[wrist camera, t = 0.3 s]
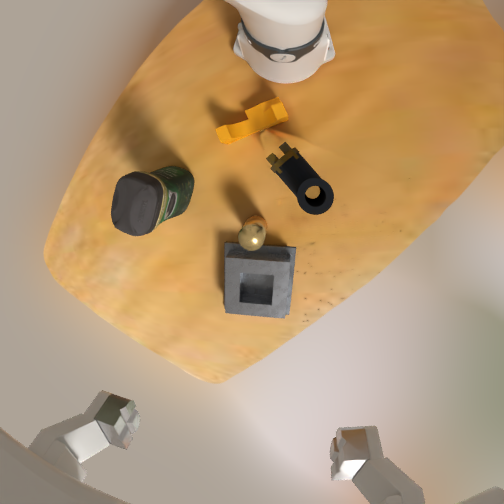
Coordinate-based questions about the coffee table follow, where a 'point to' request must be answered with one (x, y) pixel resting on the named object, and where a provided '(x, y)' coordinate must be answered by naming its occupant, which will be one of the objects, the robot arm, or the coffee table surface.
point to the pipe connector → (301, 180)
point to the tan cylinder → (253, 233)
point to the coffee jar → (150, 199)
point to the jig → (259, 280)
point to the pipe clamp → (254, 121)
